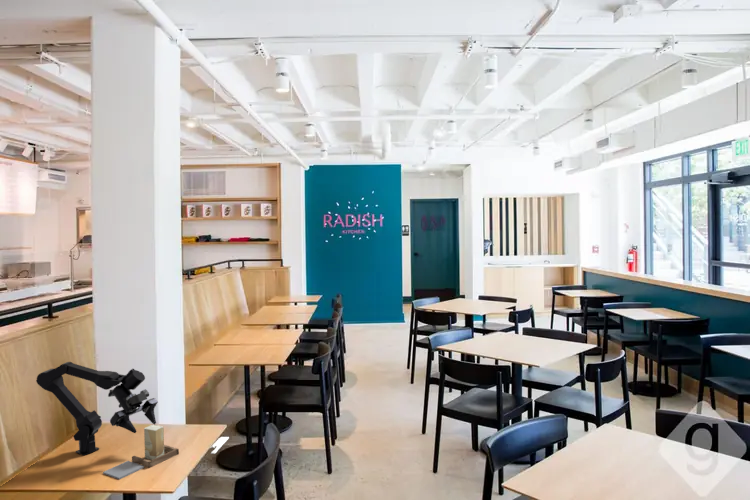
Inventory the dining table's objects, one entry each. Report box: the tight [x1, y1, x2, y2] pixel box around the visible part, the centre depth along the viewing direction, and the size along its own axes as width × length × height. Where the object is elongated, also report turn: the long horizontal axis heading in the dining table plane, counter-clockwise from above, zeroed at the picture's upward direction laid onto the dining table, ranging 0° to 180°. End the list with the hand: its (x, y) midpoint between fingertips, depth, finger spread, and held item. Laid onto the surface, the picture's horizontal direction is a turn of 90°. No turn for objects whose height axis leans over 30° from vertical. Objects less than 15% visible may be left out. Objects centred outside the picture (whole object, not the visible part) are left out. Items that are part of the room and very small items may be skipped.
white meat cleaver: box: [209, 436, 230, 455], centre depth 206 cm, size 5×15×1 cm, turn 174°
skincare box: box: [143, 424, 165, 461], centre depth 197 cm, size 6×4×12 cm
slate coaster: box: [102, 460, 145, 480], centre depth 187 cm, size 10×10×1 cm
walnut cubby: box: [131, 444, 180, 468], centre depth 197 cm, size 11×13×2 cm
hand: (145, 428), depth 199 cm, fingers open, 9 cm apart
